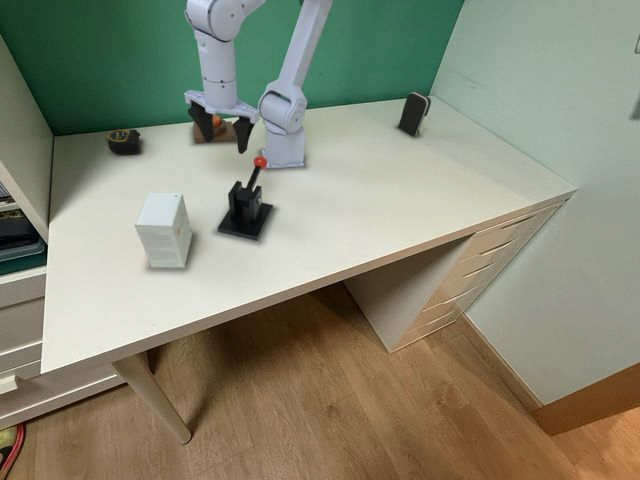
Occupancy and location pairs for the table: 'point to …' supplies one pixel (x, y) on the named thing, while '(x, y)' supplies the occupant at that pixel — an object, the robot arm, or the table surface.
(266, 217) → the lever bracket
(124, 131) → the tape measure
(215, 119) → the button
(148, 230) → the small box
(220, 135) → the button block
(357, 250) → the table surface
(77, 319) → the table surface
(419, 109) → the battery charger
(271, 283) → the table surface
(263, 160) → the lever
